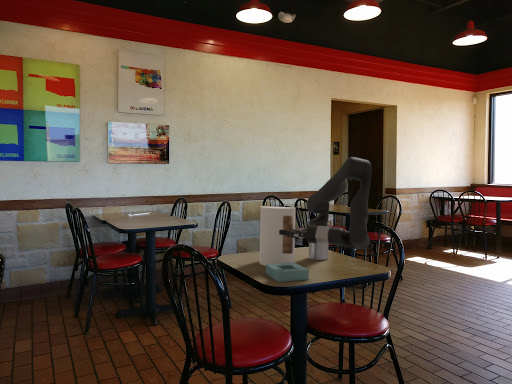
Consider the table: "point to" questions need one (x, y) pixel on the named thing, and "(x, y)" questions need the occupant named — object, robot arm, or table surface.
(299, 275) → the collar
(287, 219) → the walnut peg
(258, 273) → the table surface
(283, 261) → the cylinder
